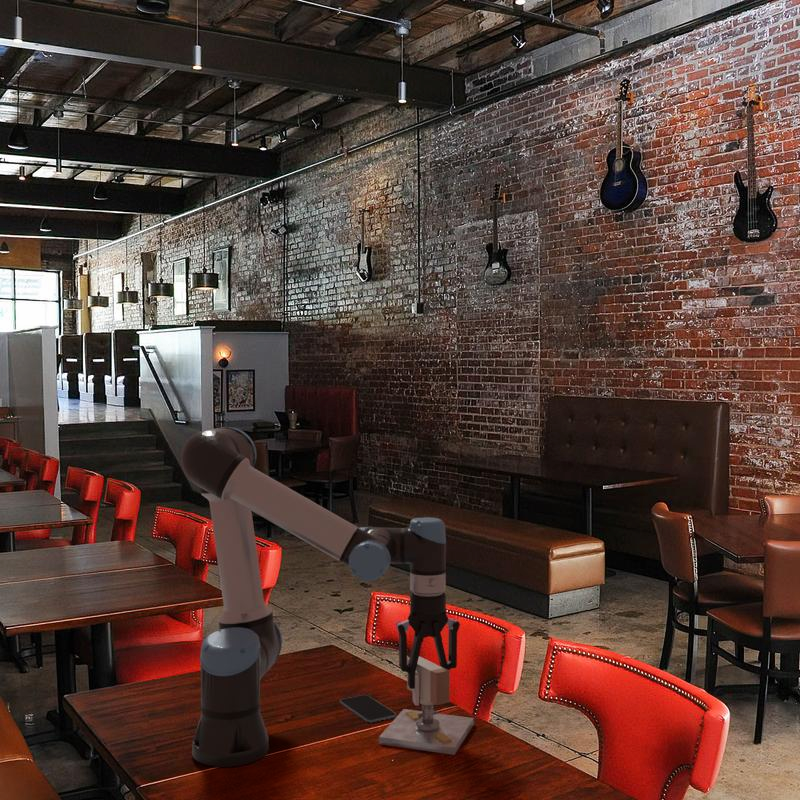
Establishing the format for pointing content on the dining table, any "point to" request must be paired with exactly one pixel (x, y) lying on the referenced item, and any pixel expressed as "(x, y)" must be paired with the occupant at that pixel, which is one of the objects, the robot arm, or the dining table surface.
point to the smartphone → (367, 708)
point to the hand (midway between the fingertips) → (427, 701)
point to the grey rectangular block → (432, 682)
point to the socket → (427, 731)
